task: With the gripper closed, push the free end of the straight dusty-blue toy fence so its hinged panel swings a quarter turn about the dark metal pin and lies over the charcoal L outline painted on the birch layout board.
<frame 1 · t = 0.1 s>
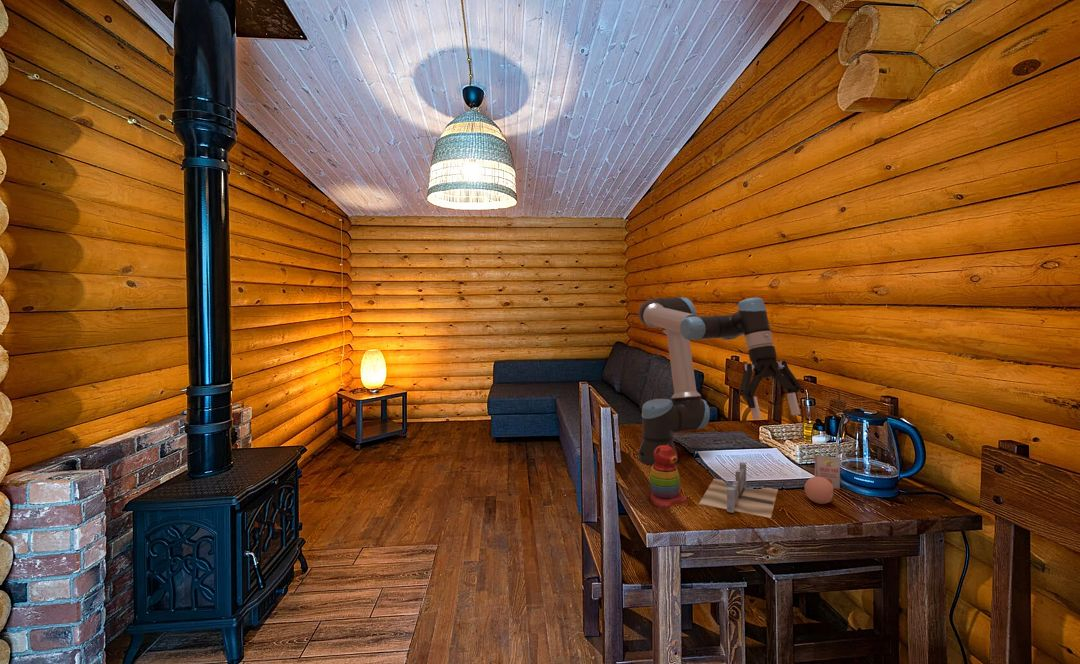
hand: (776, 417, 138), 28 cm above the table, tool tilted 20°, fingers open, 13 cm apart
fixed fence panel: (740, 478, 151), on the layout board, point 5 cm above the table
tea bag: (826, 486, 154), on the table
stacking bear: (665, 501, 147), on the table
layout board: (737, 498, 147), on the table
folding fence panel: (733, 493, 141), point 4 cm above the table, hinge at 0.0°
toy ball: (819, 503, 142), on the table
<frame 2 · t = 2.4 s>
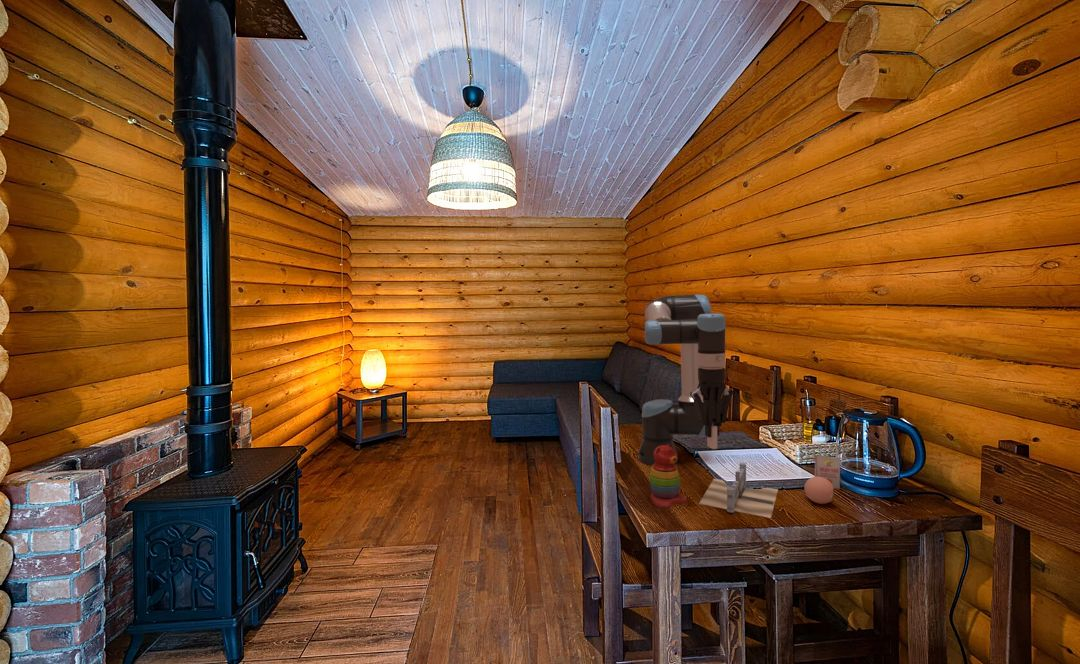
hand: (712, 447, 135), 20 cm above the table, tool pointing down, fingers closed
nothing on the table moved.
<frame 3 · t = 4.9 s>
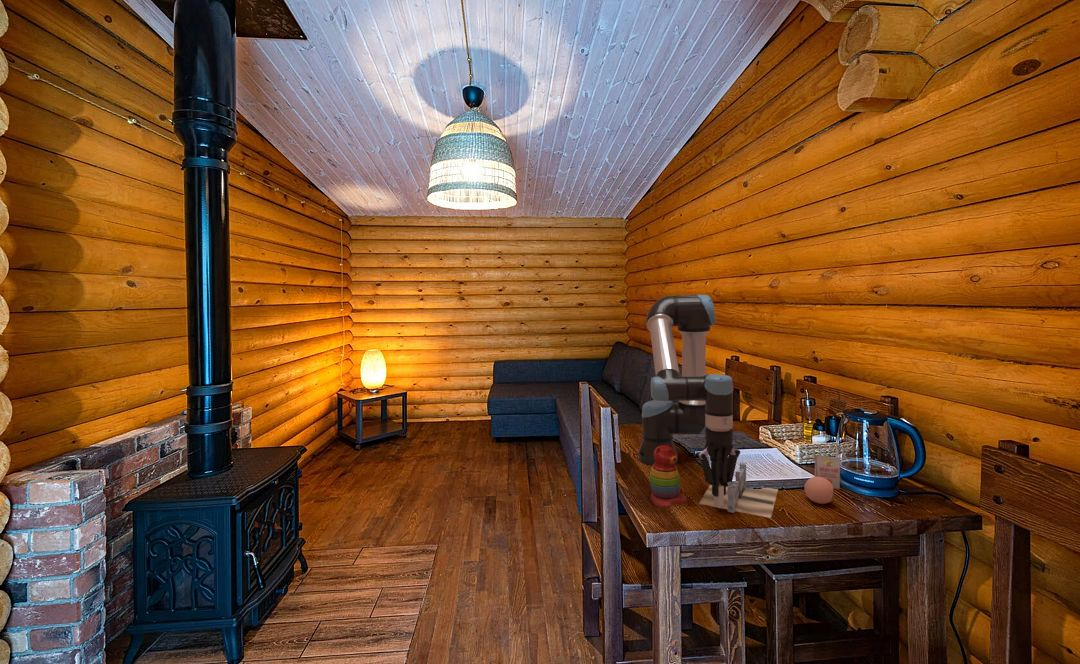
hand: (718, 506, 137), 2 cm above the table, tool pointing down, fingers closed
folding fence panel: (733, 493, 141), point 4 cm above the table, hinge at 0.9°, touching gripper
everything else where it was.
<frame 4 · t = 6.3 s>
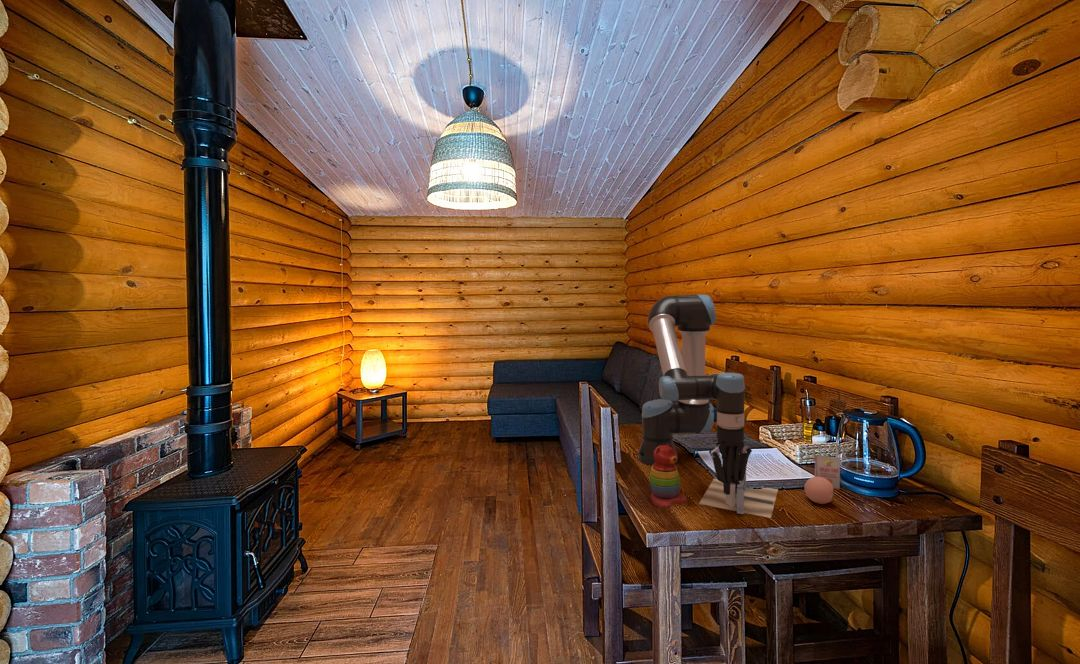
hand: (730, 504, 138), 3 cm above the table, tool pointing down, fingers closed
folding fence panel: (739, 494, 140), point 4 cm above the table, hinge at 12.2°, touching gripper
everything else where it was.
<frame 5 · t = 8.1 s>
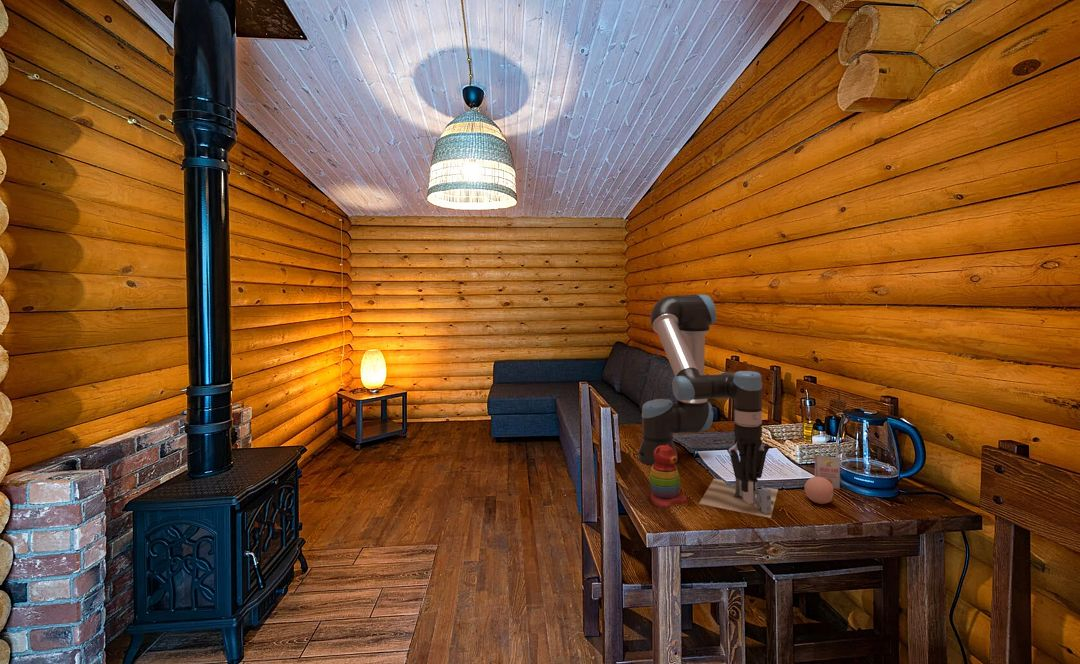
hand: (748, 501, 139), 3 cm above the table, tool pointing down, fingers closed
folding fence panel: (754, 494, 140), point 4 cm above the table, hinge at 48.2°, touching gripper
everything else where it was.
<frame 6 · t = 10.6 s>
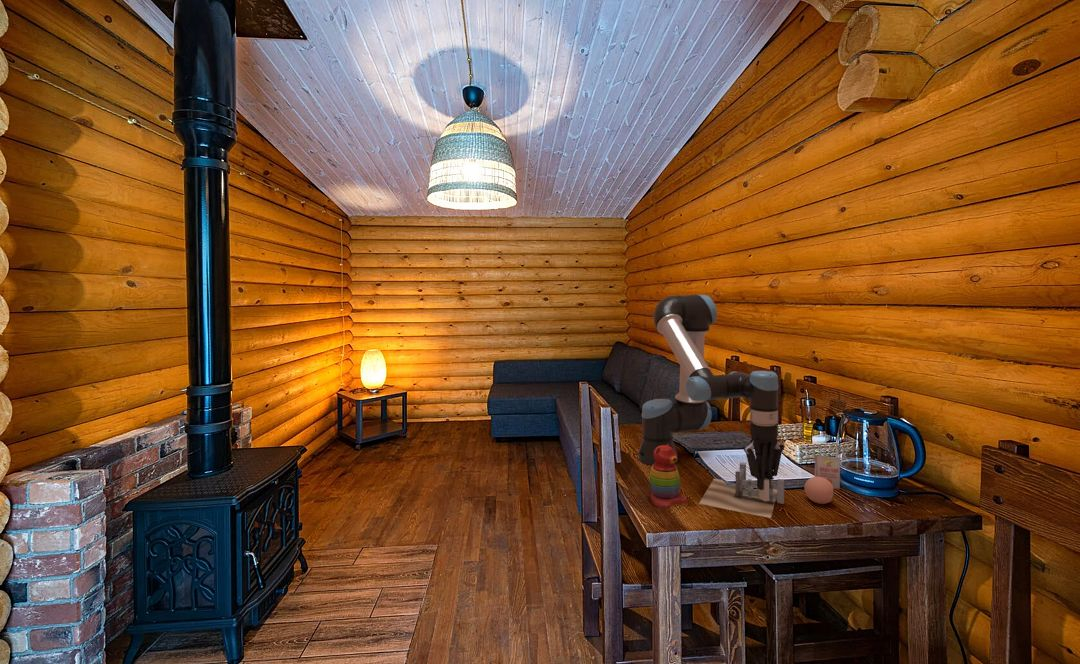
hand: (763, 499, 141), 2 cm above the table, tool pointing down, fingers closed
folding fence panel: (762, 488, 143), point 4 cm above the table, hinge at 93.2°
everything else where it was.
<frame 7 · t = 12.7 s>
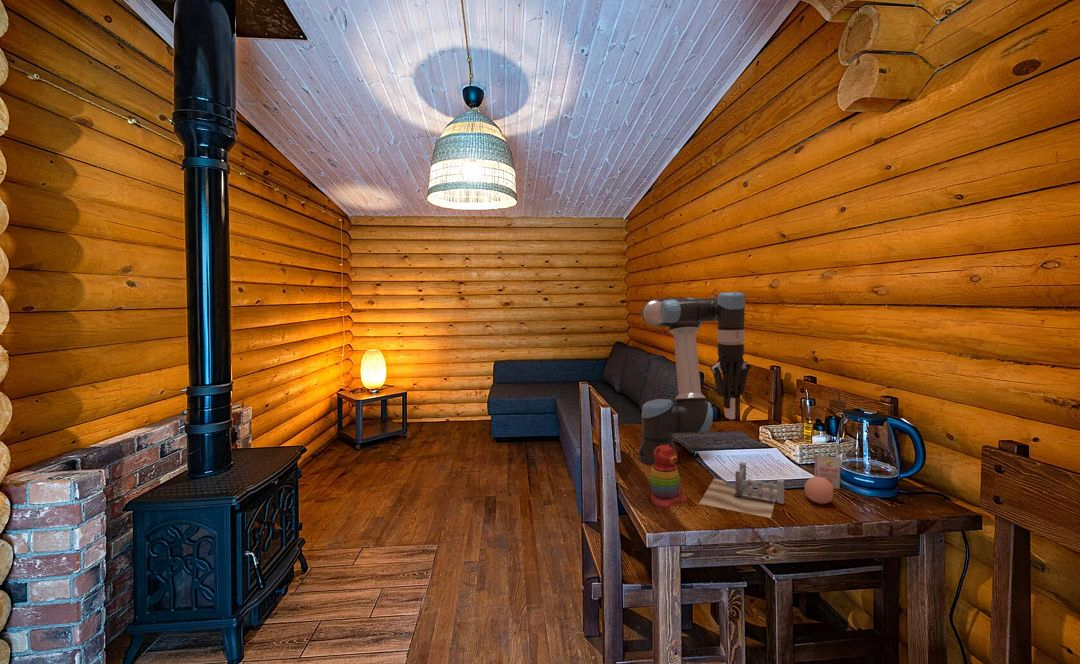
hand: (730, 417, 145), 26 cm above the table, tool pointing down, fingers closed
nothing on the table moved.
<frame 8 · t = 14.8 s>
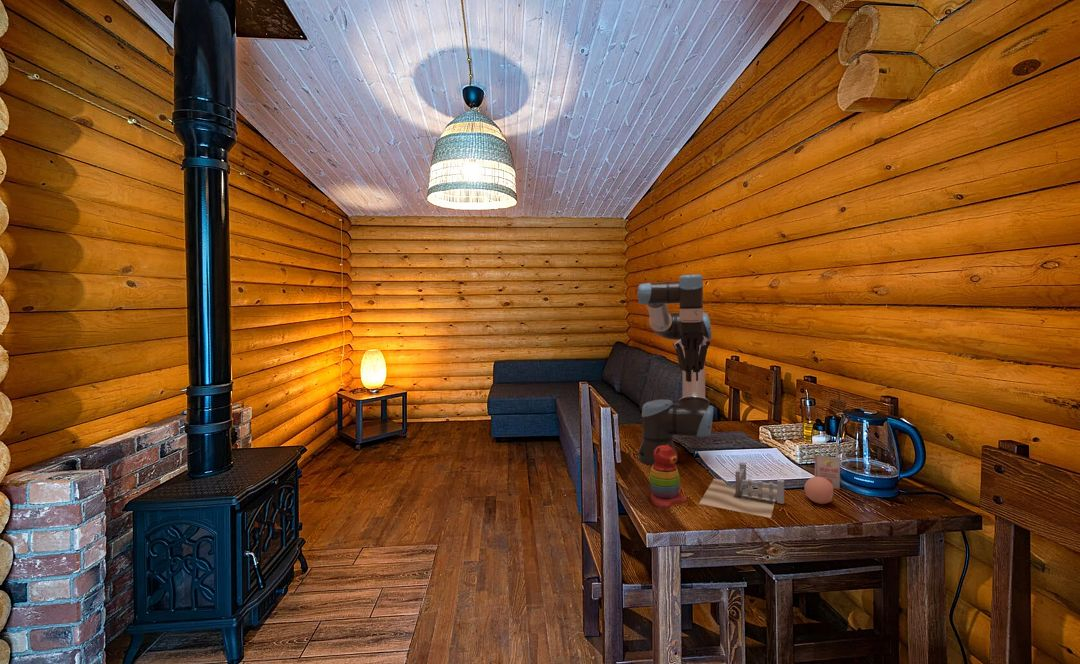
hand: (692, 390, 157), 32 cm above the table, tool pointing down, fingers closed
nothing on the table moved.
at the end: folding fence panel at +93° (first picture: +0°) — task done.
